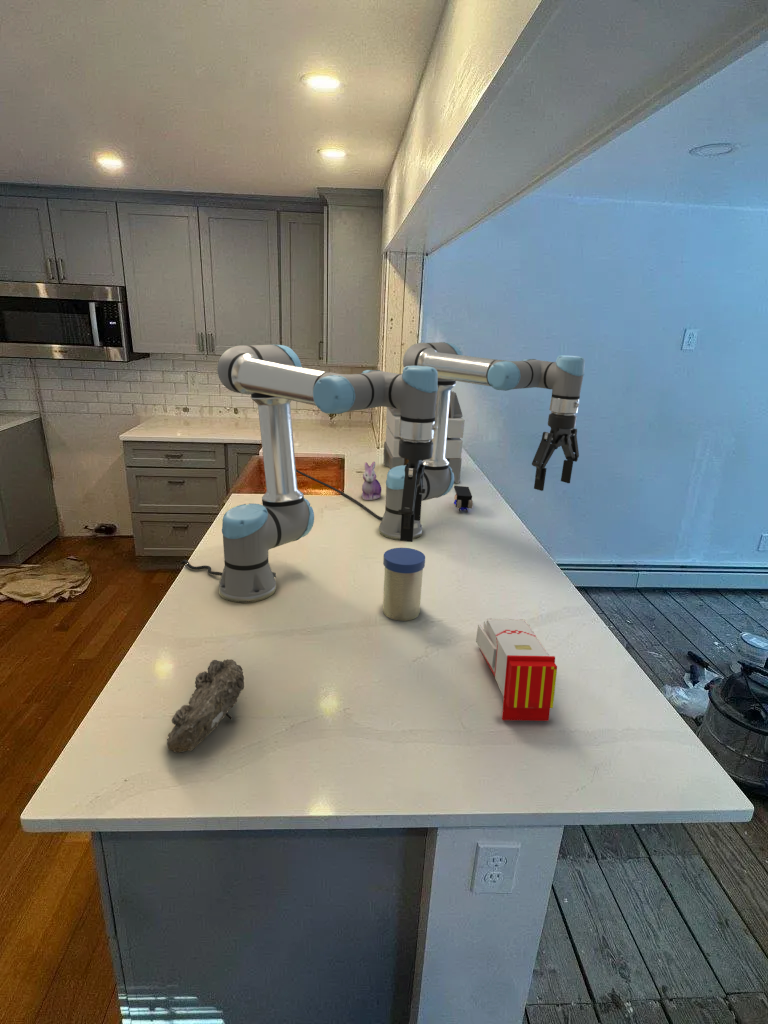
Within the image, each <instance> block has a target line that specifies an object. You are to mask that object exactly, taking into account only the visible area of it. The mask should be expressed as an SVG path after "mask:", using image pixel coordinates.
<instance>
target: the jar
mask: <svg viewBox="0 0 768 1024" xmlns="http://www.w3.org/2000/svg"><path fill="white" fill-rule="evenodd" d="M423 572H424V568H423V569H422V570H421V571H418V572H415V573H398V572H394V571H391V570H389V569H387V568H386V567H385V566H384V575H383V577H384V578H383V579H384V580H383V595H382V600H383V601H382V613H383V615H384V616H386V618H388V619H390V620H394V621H401V622H407V621H412V620H414V619H416V618H418V617H419V615H420V611H421V601H422V598H421V597H422V585H423Z"/></svg>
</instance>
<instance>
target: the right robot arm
mask: <svg viewBox="0 0 768 1024" xmlns="http://www.w3.org/2000/svg"><path fill="white" fill-rule="evenodd" d="M585 365H586V360H585V358H584V357H582V356H578V355H566V354H565V355H564V354H563V355H558V356H557V357H556V360H555V361H549V360H541V359H536V358H524V359H521V360H506V359H505V360H504V359H503V360H502V359H496V358H487V357H479V356H471V355H464V354H463V352H462V350H461V349H460V347H459V346H457V345H456V344H455V343H451V342H445V341H443V342H442V341H441V342H440V341H439V342H438V341H437V342H417V343H414V344H412V345H411V346H409V347H408V348H407V350H406V351H405V353H404V355H403V358H402V366H403V368H404V367H406V366H428V367H433V368H435V369H436V370H437V372H438V386H437V387H438V391H437V399H436V409H435V423H434V425H436V426H437V430H434V438H433V439H432V441H433V455H432V457H431V458H430V459H428V460H424V461H423V464H424V474H423V485H424V487H423V489H425V494H423V493H420V494H422V502H423V501H427V500H431V499H437V498H440V497H443V496H446V495H448V493H450V492H451V490H452V489H453V488H454V484H455V483H454V473H452V469H451V467H450V466H449V462H448V461H447V459H446V458H445V453H446V441H447V428H448V416H449V404H450V392H451V391H452V389H453V388H454V387H455V386H456V384H457V382H461V383H465V384H473V385H479V386H487V387H491V388H492V389H494V390H496V391H503V392H504V391H511V390H520V389H532V388H533V389H534V388H539V389H546V390H551V398H550V404H549V413H548V418H547V419H548V420H547V426H548V427H549V428H550V431H549V432H548V431H543V432H542V435H541V440H540V442H539V445H538V447H537V449H536V452H535V454H534V457H533V460H532V461H531V466H533V467H535V475H534V477H535V478H534V485H533V489H534V490H537V491H539V492H543V491H544V489H545V484H546V483H545V482H546V476H547V468H546V466H547V465H548V463H549V461H550V459H551V457H552V456H553V454H554V453H555V451H556V450H557V449H558V448H560V447H561V449H562V452H563V455H564V458H565V459H563V463H562V468H561V469H562V470H561V475H560V482H562V483H566V484H571V478H572V472H573V466H574V463H576V462H578V461H579V457H580V453H579V444H578V428H576V423H577V419H578V416H577V414H578V412H579V411H578V410H579V406H580V397H581V391H582V385H583V380H584V376H585ZM405 466H406V465H401V466H396V467H394V468H392V469H390V468H389V470H388V472H387V474H386V479H385V504H384V505H385V507H384V508H385V509H384V513H383V515H382V516H380V515H378V514H376V513H375V512H373V511H372V510H371V509H369V508H368V507H366V505H364V504H362V503H361V502H360V501H358V500H357V499H356V498H353V497H352V496H350V495H349V494H347V493H345V492H343V491H342V490H339V489H338V488H335V487H334V486H331V485H330V484H328V483H326V482H323V481H321V480H319V479H317V478H315V477H313V476H311V475H308V474H307V473H304V472H302V471H300V470H299V469H297V468H296V473H298V474H300V475H302V476H304V477H305V478H308V479H310V480H312V481H314V482H316V483H318V484H320V485H323V486H324V487H326V488H329V489H330V490H333V491H335V492H337V493H339V494H340V495H341V496H344V497H346V499H349V500H350V501H352V502H354V503H355V504H357V505H358V506H360V507H361V508H363V510H365V511H367V512H368V513H369V514H371V515H372V516H374V518H377V519H378V520H380V521H381V522H379V525H378V533H379V534H380V535H381V536H382V537H385V538H387V539H389V540H395V541H400V536H401V518H402V514H400V513H398V510H401V505H402V497H403V488H404V478H405ZM405 508H407V507H405ZM407 509H410V508H407ZM422 535H423V525H422V524H421V520H420V521H416V520H414V531H413V540H415V539H418V538H420V537H421V536H422Z"/></svg>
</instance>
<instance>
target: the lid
mask: <svg viewBox="0 0 768 1024" xmlns="http://www.w3.org/2000/svg"><path fill="white" fill-rule="evenodd" d="M382 561H383V562H382V563H383V566H384V568H385V567H386V568H387V569H389V570H391V571H394V572H398V573H415V572H418V571H421V570H422V569H423V570H424V569H425V566H426V555H425V554H424V553H423V552H422V551H420V550H418V549H415V548H410V547H394V548H390V549H387V550H386V551H384V552H383V560H382Z"/></svg>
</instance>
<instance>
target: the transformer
mask: <svg viewBox="0 0 768 1024" xmlns="http://www.w3.org/2000/svg"><path fill="white" fill-rule="evenodd" d="M400 413H401V409H396V408H390V407H386V413H385V414H386V415H385V423H386V428H385V438H384V442H383V466H384V467H388V468H389V470H390V469H392V468H394V467H396V466H401V465H404V466H405V465H407V463H408V462H409V460H407V459H404V458H402V457H400V456H399V454H398V453H399V440H400V439H402V438H400V436H399V429H400V417H401V415H400ZM464 429H465V419H464V418H463V411H462V408H461V405H460V402H459V398H458V395H457V392H455V391H453V390H451V392H450V404H449V416H448V428H447V441H446V453H445V458H446V459H447V461H448V462H449V466H450V467H451V469H452V473H454V484H455V483H456V484H459V483H461V472H462V461H463V460H462V453H463V442H464V441H463V440H462V439H463V438H464V431H465V430H464Z"/></svg>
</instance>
